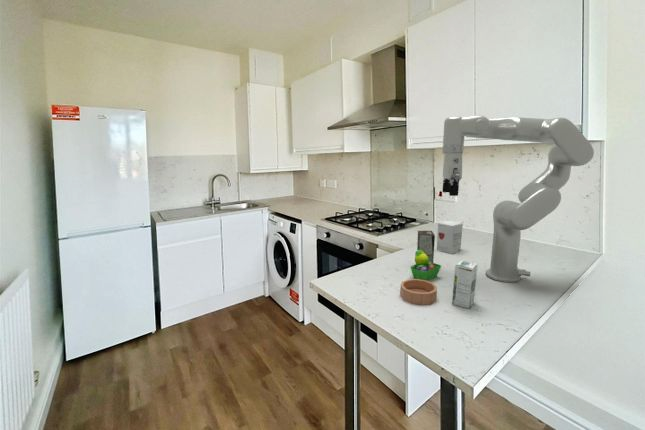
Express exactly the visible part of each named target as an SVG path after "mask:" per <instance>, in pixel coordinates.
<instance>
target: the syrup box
mask: <svg viewBox="0 0 645 430" xmlns="http://www.w3.org/2000/svg"><path fill="white" fill-rule="evenodd" d="M478 266H479V265H478V263H475V262H471V261H468V260H460V261H458V263H456V264H455V266H454V279H453V289H452V298H451V299H452V300H451V301H452V302H451V304H452V305H455V306H459V307H462V308H466V309H470V308H471V307H472V305H473V304H474V302H475V294H476V285H477V283H476V282H477V273H478Z"/></svg>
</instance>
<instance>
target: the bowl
mask: <svg viewBox="0 0 645 430" xmlns="http://www.w3.org/2000/svg"><path fill="white" fill-rule="evenodd" d="M399 292H400V293H399V296H400V297H401V298H402V300H404V301H405V302H408V303H410V304H414V305H420V306H422V305H430V304H433V303H435V302H437V294H438V286H437V285H436V284H434V282H431V281H430V280H428V281H426V280H420V279H414V278H413V279H412V278H411V279H405V280H404V281H401V283H400V291H399Z"/></svg>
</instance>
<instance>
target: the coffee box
mask: <svg viewBox="0 0 645 430" xmlns="http://www.w3.org/2000/svg"><path fill="white" fill-rule="evenodd" d="M435 239H436V235H435V233H434V232H433V231H432V230H417V242H416V243H417V247H416V248H417V249H416V251H417V250H421V251H423V252H424V253H425V254H426V255H427V256H428V258H429V260H428V261H429V262H432V263H434V258H435V257H434V254H435Z"/></svg>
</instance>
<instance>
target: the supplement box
mask: <svg viewBox="0 0 645 430" xmlns="http://www.w3.org/2000/svg"><path fill="white" fill-rule="evenodd" d="M463 225H464V224H463V222H459V221H453V220H448V219H447V220H444V221H443V220H442V221H439V222H438V223H437V237H436V238H437V239H436V251H438V252H439V251H440V252H443V253H446V254H450V255H453V254H454V253H458V252H461V250H462V238H463V237H462V235H463Z"/></svg>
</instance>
